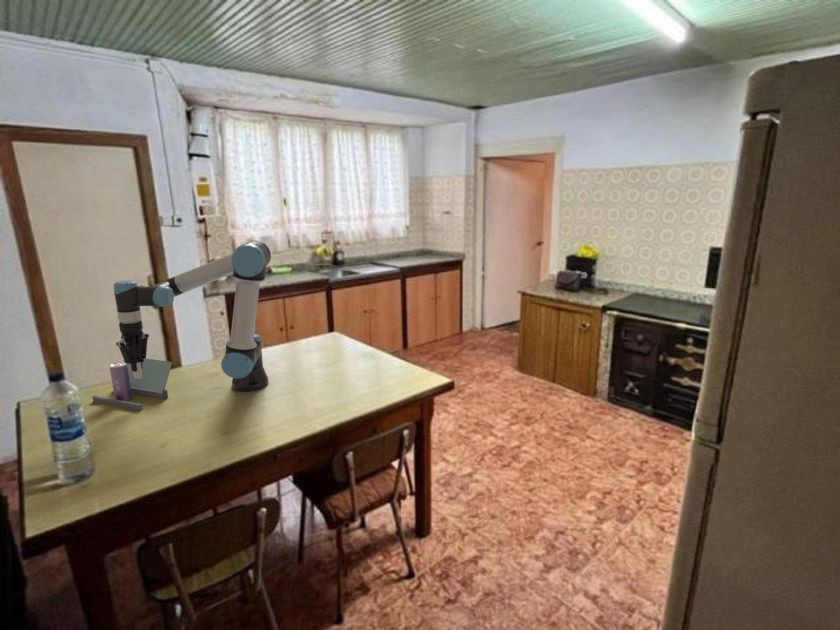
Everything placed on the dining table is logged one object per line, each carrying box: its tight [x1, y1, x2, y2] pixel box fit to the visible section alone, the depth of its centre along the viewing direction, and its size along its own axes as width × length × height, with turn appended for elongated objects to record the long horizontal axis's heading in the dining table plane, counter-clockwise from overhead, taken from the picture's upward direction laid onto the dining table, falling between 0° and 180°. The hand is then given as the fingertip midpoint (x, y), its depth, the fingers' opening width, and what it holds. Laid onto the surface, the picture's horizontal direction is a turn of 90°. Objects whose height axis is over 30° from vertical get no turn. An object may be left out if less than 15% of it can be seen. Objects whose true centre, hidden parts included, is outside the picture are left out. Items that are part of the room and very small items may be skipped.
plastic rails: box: [92, 387, 169, 411], centre depth 185 cm, size 27×12×4 cm, turn 74°
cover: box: [123, 357, 173, 392], centre depth 192 cm, size 24×13×1 cm
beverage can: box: [109, 361, 133, 401], centre depth 185 cm, size 6×6×15 cm
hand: (138, 377), depth 181 cm, fingers closed
